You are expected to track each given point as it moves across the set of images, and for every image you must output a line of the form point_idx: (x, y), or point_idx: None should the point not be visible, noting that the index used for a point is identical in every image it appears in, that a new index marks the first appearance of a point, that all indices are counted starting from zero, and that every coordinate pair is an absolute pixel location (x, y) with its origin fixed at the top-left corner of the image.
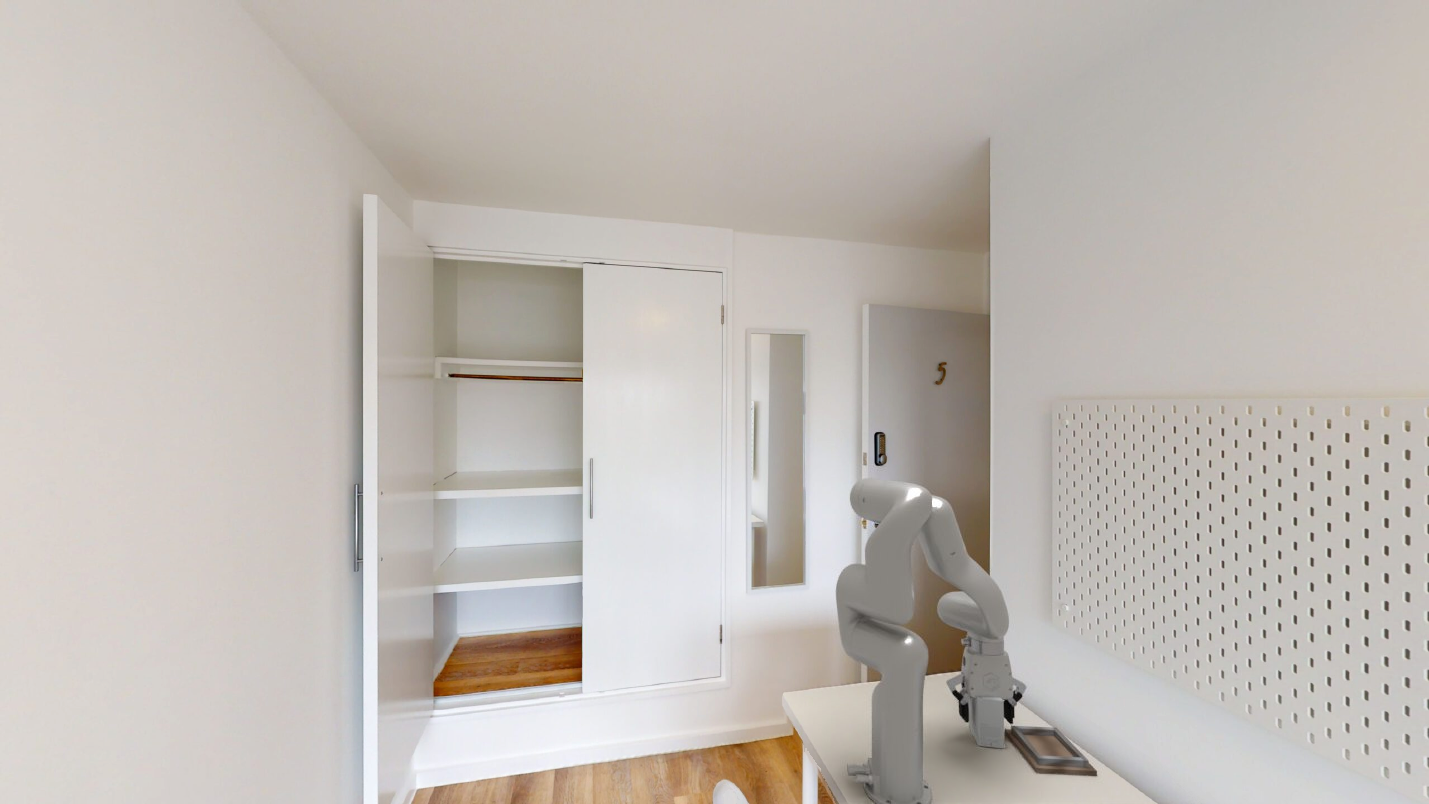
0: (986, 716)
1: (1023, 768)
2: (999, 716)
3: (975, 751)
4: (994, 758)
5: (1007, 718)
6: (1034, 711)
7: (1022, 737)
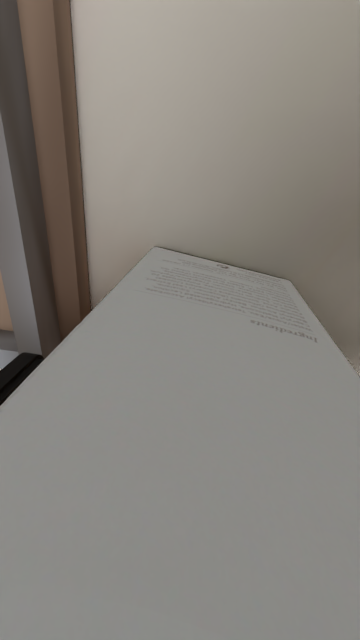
0: (281, 373)
1: (130, 17)
2: (120, 346)
3: (340, 232)
4: (267, 151)
5: None
6: None
7: (16, 264)
